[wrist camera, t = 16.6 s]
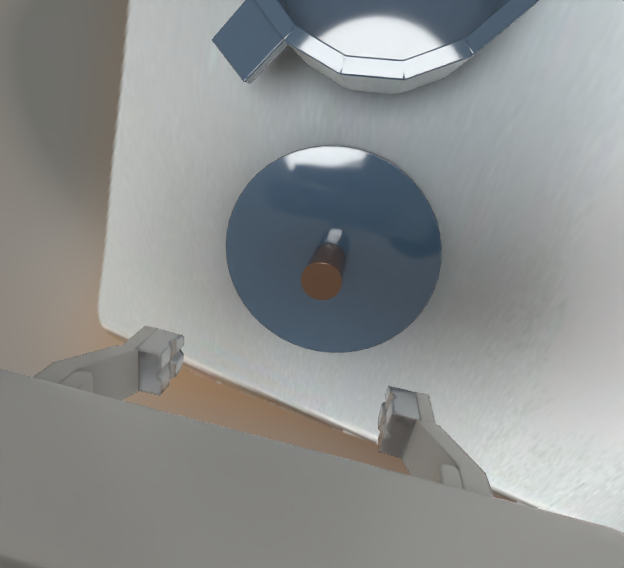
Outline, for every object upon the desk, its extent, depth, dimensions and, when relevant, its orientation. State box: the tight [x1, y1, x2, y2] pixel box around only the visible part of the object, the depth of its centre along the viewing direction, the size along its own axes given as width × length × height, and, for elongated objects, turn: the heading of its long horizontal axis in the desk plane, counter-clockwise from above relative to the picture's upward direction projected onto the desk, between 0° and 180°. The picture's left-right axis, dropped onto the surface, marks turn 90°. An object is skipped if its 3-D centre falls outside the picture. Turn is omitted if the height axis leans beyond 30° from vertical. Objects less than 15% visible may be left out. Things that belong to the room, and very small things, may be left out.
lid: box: [226, 145, 441, 353], centre depth 26 cm, size 16×16×5 cm
